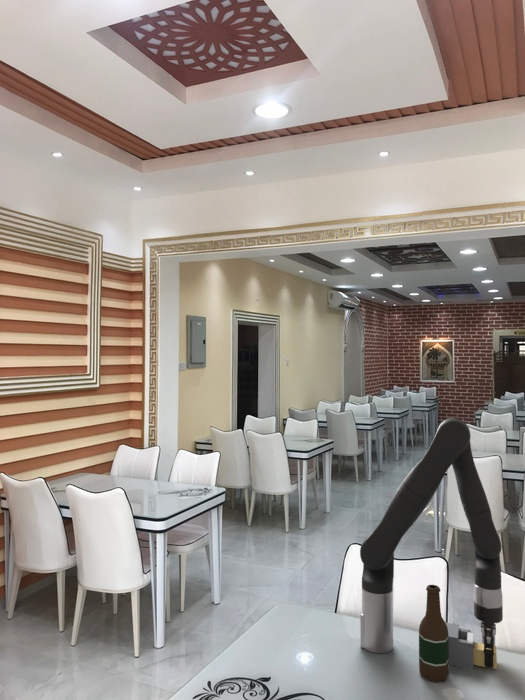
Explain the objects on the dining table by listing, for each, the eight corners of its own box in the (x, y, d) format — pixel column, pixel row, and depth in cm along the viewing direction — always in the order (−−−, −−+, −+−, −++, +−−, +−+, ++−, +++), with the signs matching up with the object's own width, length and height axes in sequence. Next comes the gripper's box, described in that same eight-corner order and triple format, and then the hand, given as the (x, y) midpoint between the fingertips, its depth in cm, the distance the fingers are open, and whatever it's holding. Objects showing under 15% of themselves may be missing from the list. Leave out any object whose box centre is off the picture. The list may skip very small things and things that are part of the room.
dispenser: (428, 661, 156) (428, 632, 157) (430, 646, 164) (430, 620, 164) (473, 669, 152) (473, 640, 152) (473, 654, 160) (473, 627, 160)
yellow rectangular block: (462, 662, 155) (462, 646, 155) (462, 655, 159) (462, 639, 159) (496, 668, 152) (496, 652, 152) (496, 661, 156) (496, 645, 156)
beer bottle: (450, 685, 145) (450, 593, 145) (420, 681, 146) (419, 591, 147) (447, 669, 152) (446, 582, 153) (418, 665, 154) (417, 579, 155)
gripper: (474, 589, 163) (474, 647, 162) (473, 609, 150) (474, 673, 149) (501, 593, 160) (502, 652, 160) (503, 614, 147) (504, 678, 146)
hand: (488, 662), depth 154 cm, fingers closed on yellow rectangular block, 4 cm apart
